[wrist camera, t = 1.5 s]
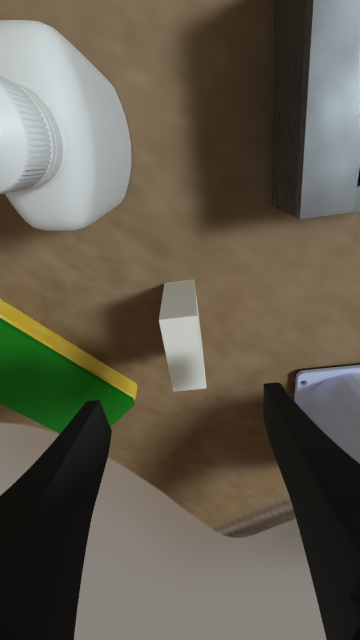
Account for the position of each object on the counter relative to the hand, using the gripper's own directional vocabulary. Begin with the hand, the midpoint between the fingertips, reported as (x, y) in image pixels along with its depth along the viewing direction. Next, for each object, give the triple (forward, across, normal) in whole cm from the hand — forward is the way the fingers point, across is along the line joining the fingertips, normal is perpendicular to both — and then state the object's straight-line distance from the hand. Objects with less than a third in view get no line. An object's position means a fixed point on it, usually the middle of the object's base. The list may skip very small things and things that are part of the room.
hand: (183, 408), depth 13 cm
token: (+9, 0, 0) cm, 9 cm away
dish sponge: (+9, +12, +3) cm, 15 cm away
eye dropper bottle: (+9, +3, -11) cm, 14 cm away
